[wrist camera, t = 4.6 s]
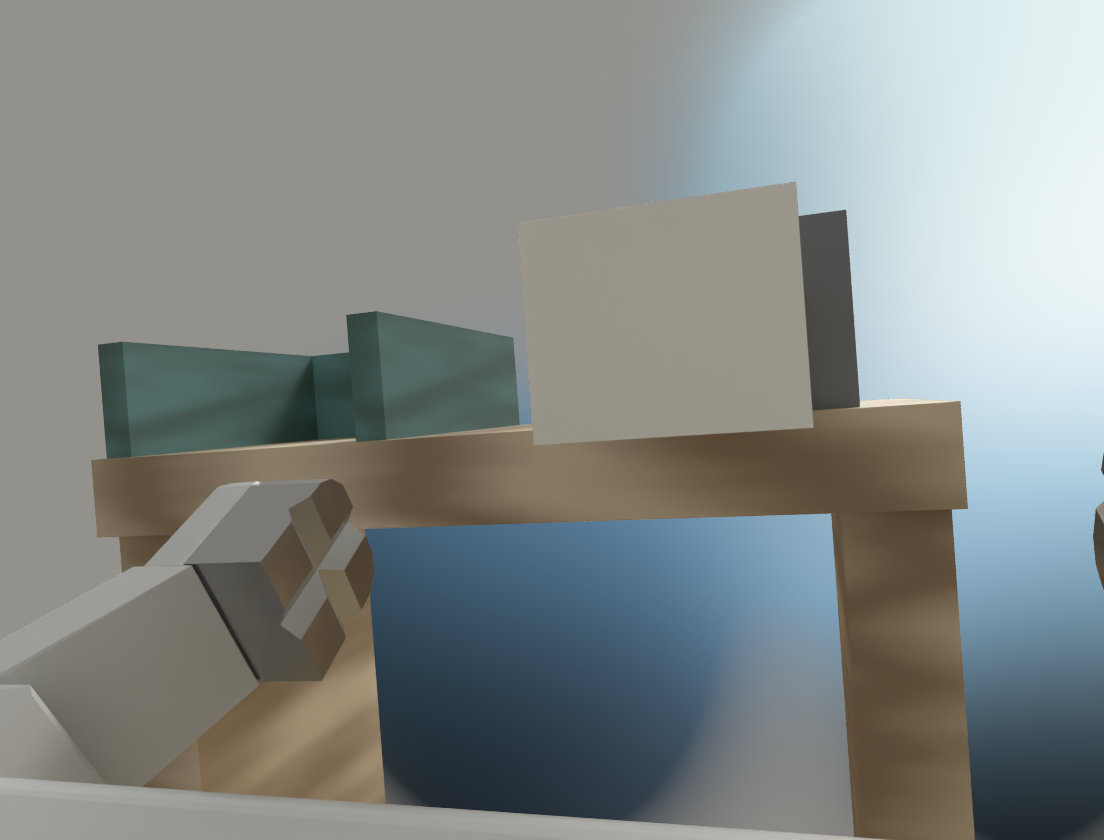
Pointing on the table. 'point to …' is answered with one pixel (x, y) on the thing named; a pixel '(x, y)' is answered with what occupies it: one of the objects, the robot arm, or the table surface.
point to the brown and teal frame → (543, 497)
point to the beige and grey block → (687, 318)
